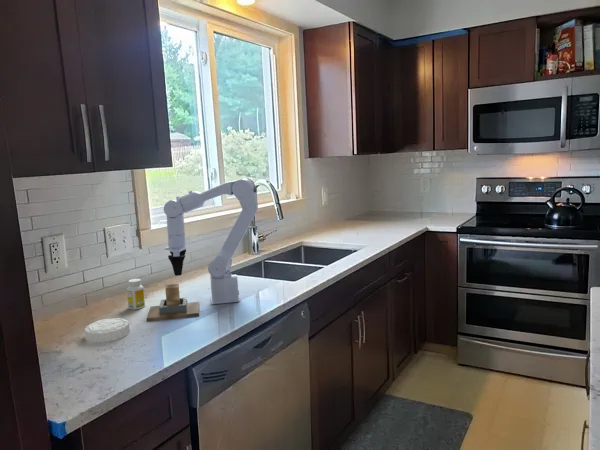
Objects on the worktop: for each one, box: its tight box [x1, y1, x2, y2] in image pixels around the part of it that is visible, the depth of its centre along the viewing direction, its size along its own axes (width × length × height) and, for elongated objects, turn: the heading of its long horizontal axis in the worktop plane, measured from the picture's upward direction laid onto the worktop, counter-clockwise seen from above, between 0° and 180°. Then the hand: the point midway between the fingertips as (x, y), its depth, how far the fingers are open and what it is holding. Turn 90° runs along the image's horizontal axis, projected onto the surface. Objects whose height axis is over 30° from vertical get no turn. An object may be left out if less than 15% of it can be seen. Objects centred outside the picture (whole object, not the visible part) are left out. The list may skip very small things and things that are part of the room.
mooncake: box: [83, 317, 131, 344], centre depth 135 cm, size 12×12×4 cm
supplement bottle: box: [126, 278, 146, 310], centre depth 158 cm, size 5×5×10 cm
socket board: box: [146, 297, 200, 322], centre depth 152 cm, size 16×12×4 cm
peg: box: [164, 283, 181, 306], centre depth 151 cm, size 4×4×8 cm
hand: (178, 272), depth 162 cm, fingers open, 7 cm apart
